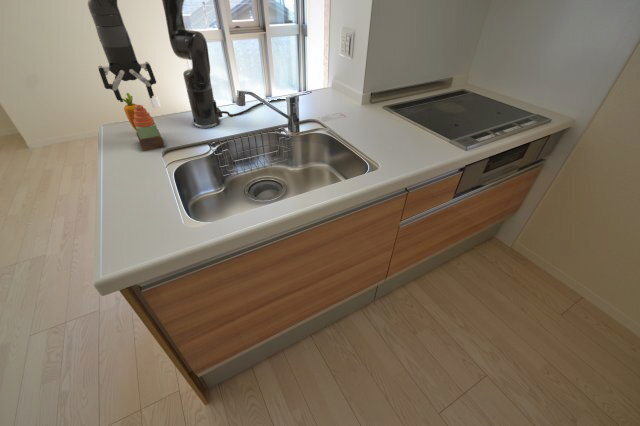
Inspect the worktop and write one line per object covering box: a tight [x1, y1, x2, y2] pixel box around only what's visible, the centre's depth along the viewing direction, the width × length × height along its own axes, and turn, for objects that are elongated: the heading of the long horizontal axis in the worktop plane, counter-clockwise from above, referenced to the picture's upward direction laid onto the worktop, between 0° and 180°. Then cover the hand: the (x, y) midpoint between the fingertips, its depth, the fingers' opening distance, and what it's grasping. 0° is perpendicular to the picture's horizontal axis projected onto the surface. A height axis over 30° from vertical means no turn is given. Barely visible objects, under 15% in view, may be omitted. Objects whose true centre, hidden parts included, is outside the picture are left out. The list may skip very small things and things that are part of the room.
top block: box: [136, 121, 160, 140], centre depth 101 cm, size 6×6×4 cm
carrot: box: [122, 92, 138, 132], centre depth 106 cm, size 5×5×15 cm
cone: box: [133, 104, 155, 127], centre depth 98 cm, size 6×6×6 cm
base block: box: [135, 128, 165, 152], centre depth 104 cm, size 7×7×4 cm
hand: (136, 99), depth 95 cm, fingers open, 8 cm apart
